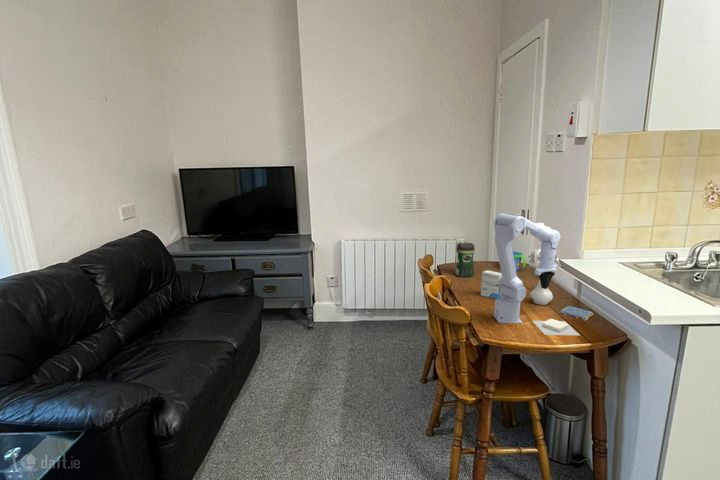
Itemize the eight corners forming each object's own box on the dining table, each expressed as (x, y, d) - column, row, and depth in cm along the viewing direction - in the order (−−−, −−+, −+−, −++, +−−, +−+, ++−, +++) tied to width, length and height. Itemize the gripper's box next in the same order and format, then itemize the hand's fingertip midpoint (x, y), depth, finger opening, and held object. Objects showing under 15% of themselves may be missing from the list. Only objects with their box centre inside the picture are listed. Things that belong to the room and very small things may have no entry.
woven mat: (558, 315, 170) (558, 310, 170) (567, 308, 177) (568, 304, 177) (585, 322, 163) (585, 318, 162) (593, 315, 170) (594, 311, 169)
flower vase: (544, 295, 193) (549, 244, 188) (563, 309, 175) (569, 254, 170) (517, 295, 193) (521, 244, 188) (533, 309, 175) (539, 254, 170)
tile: (559, 328, 151) (568, 324, 156) (542, 322, 157) (551, 318, 161) (559, 332, 152) (568, 327, 156) (541, 326, 157) (551, 321, 161)
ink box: (501, 296, 191) (503, 273, 188) (497, 299, 187) (499, 275, 185) (485, 292, 196) (486, 269, 194) (480, 295, 193) (481, 271, 190)
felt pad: (544, 335, 150) (544, 334, 150) (531, 321, 163) (532, 320, 162) (580, 336, 149) (580, 335, 149) (564, 322, 162) (564, 321, 162)
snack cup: (494, 268, 238) (496, 251, 236) (506, 265, 244) (507, 249, 242) (517, 274, 225) (518, 257, 223) (529, 271, 231) (530, 254, 229)
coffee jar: (470, 273, 228) (472, 241, 224) (475, 277, 221) (477, 244, 217) (453, 273, 228) (455, 241, 224) (457, 277, 220) (459, 244, 216)
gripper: (547, 262, 161) (544, 294, 164) (565, 256, 169) (562, 287, 172) (531, 258, 166) (528, 289, 169) (549, 253, 175) (546, 283, 178)
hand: (544, 288), depth 171 cm, fingers closed
